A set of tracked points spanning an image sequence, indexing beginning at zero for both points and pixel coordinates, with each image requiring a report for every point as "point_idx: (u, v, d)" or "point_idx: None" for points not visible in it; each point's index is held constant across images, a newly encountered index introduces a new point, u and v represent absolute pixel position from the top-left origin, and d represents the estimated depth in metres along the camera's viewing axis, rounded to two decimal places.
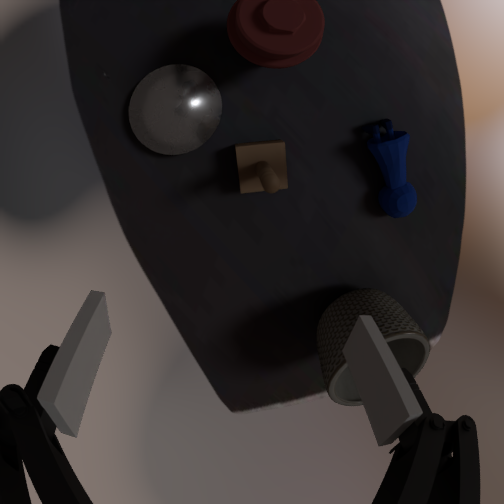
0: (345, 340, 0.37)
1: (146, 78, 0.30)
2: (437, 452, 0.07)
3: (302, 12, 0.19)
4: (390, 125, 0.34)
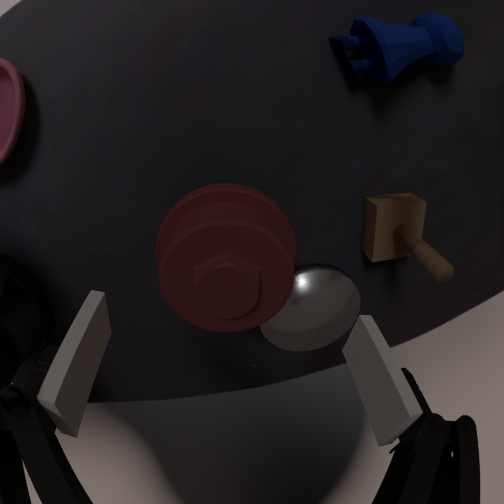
0: None
1: (271, 340, 0.34)
2: (437, 452, 0.07)
3: (220, 269, 0.16)
4: (348, 41, 0.18)
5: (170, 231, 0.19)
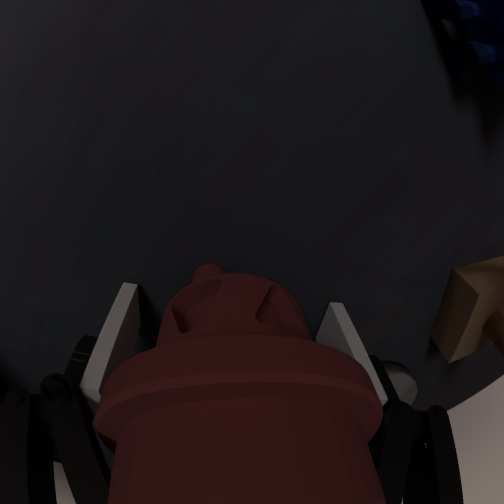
0: None
1: None
2: (407, 441, 0.08)
3: None
4: (466, 6, 0.06)
5: (117, 427, 0.07)
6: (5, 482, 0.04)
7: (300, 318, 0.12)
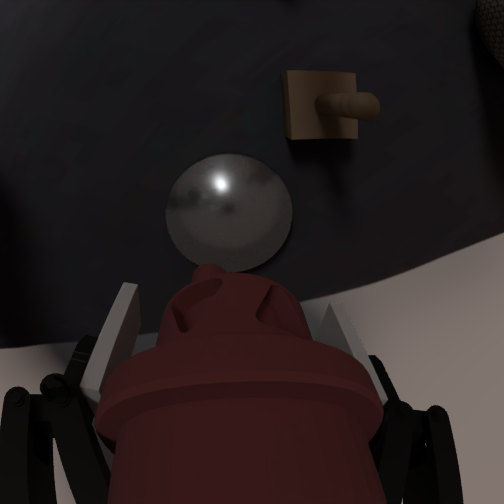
0: None
1: (183, 251, 0.29)
2: (407, 441, 0.08)
3: None
4: None
5: (117, 427, 0.07)
6: (5, 482, 0.04)
7: (300, 317, 0.12)
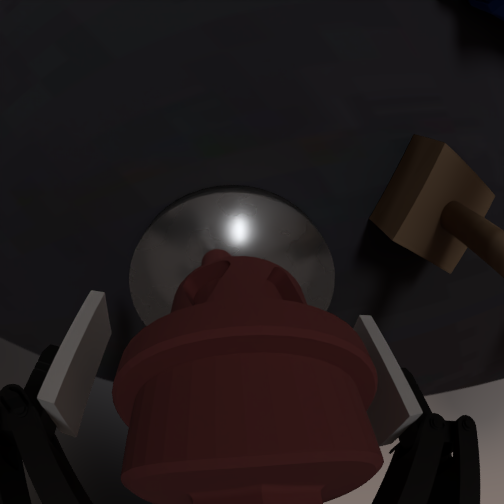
0: None
1: (139, 307, 0.16)
2: (437, 452, 0.07)
3: None
4: None
5: (135, 391, 0.08)
6: None
7: (301, 296, 0.13)
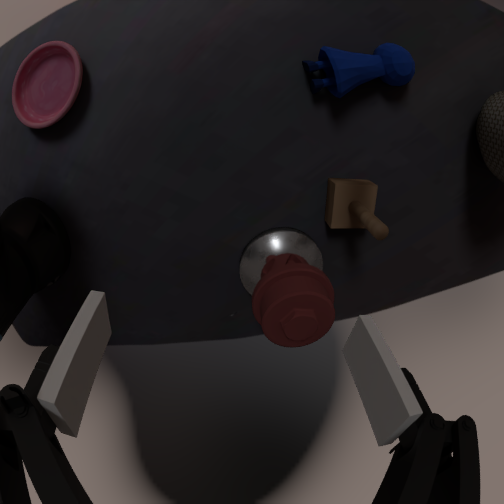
0: None
1: (248, 288, 0.43)
2: (437, 452, 0.07)
3: (293, 319, 0.30)
4: (313, 65, 0.28)
5: (259, 303, 0.34)
6: None
7: (301, 261, 0.37)
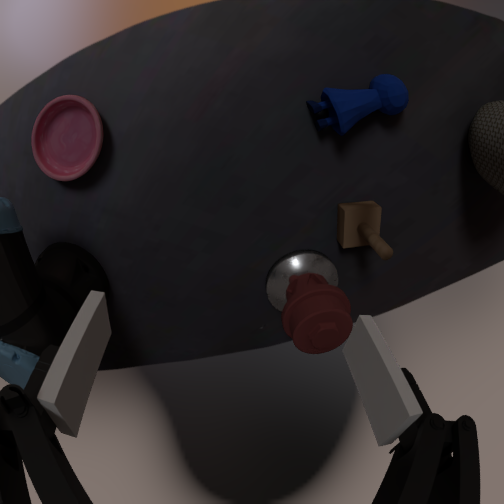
0: None
1: (274, 305, 0.48)
2: (437, 452, 0.07)
3: (319, 332, 0.35)
4: (317, 107, 0.33)
5: (288, 320, 0.39)
6: None
7: (320, 279, 0.43)
